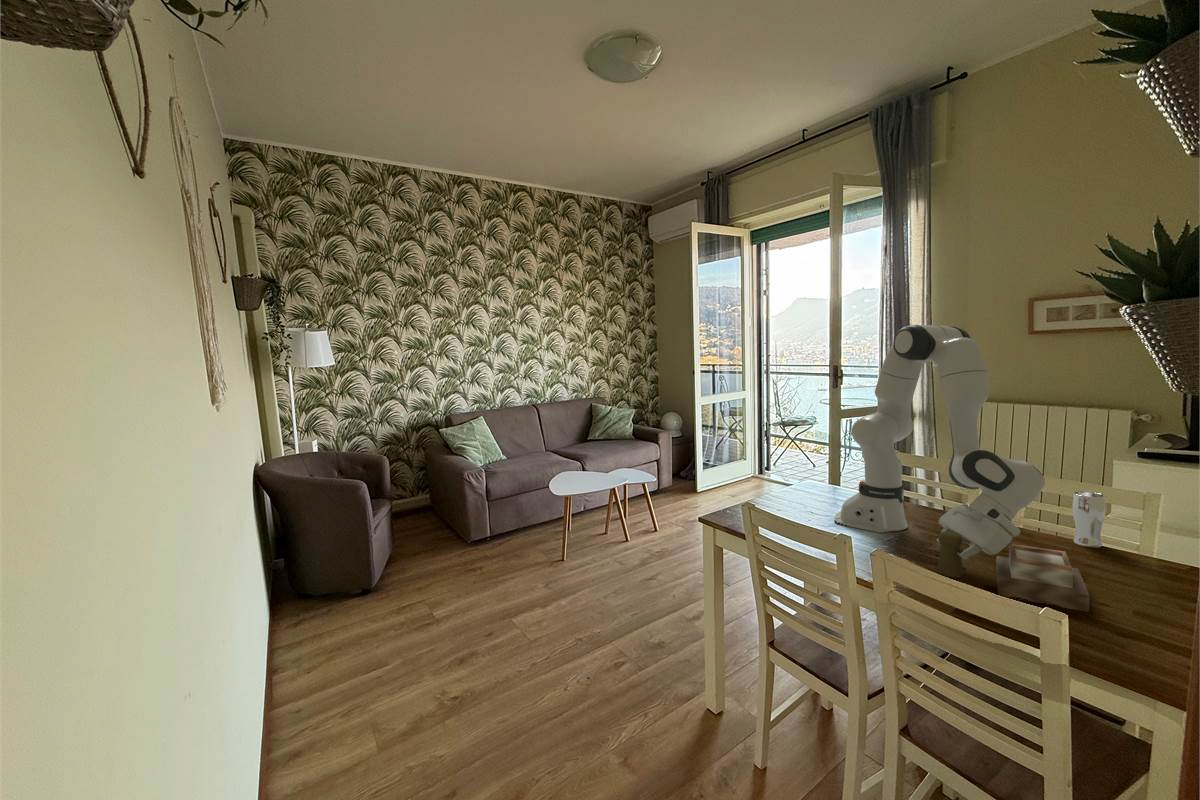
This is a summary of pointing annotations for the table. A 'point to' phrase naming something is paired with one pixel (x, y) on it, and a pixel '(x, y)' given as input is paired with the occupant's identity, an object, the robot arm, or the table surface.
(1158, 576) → the table surface
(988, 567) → the table surface
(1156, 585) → the table surface
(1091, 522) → the beer glass
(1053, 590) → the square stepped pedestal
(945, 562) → the cork
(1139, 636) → the table surface
